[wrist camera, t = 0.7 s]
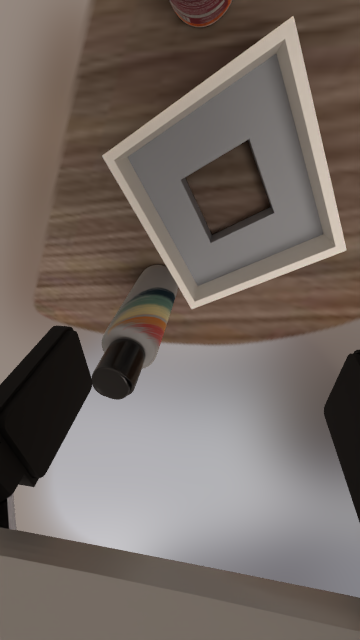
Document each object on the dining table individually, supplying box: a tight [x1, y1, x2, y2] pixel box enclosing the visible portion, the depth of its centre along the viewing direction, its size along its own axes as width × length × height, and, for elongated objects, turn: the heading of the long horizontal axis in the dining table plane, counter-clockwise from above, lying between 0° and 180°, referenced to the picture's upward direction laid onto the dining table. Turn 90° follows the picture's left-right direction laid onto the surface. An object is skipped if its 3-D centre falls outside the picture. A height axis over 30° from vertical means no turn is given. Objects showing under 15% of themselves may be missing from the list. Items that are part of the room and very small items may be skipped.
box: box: [102, 16, 346, 309], centre depth 28 cm, size 17×18×7 cm
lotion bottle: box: [92, 265, 178, 399], centre depth 31 cm, size 6×6×20 cm
